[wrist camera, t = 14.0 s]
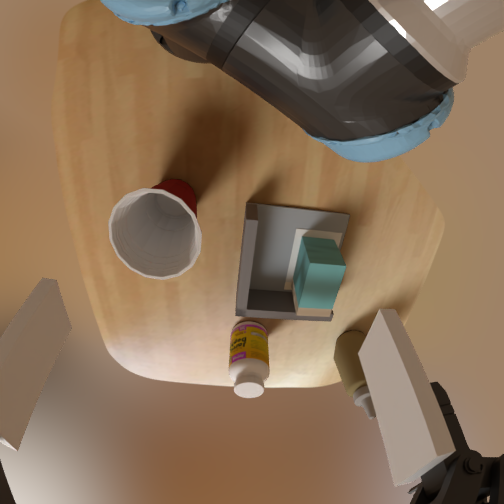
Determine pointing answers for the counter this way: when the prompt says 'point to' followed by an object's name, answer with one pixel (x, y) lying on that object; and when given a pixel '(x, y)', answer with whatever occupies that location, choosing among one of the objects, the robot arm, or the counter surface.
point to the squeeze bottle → (353, 370)
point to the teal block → (317, 276)
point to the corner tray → (278, 257)
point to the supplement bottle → (249, 359)
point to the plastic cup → (157, 230)
